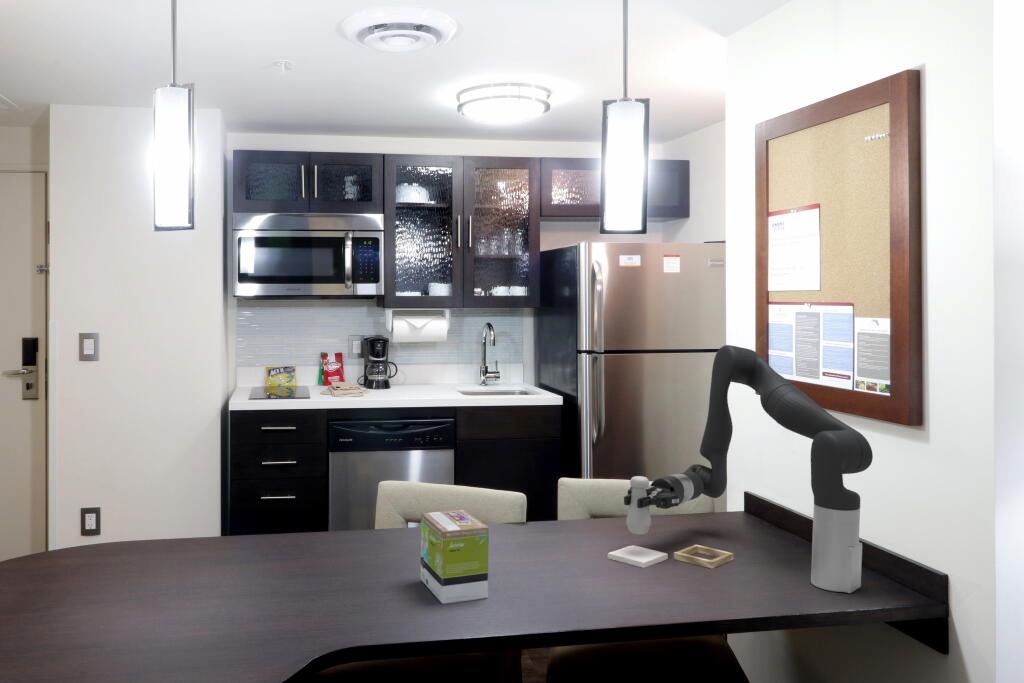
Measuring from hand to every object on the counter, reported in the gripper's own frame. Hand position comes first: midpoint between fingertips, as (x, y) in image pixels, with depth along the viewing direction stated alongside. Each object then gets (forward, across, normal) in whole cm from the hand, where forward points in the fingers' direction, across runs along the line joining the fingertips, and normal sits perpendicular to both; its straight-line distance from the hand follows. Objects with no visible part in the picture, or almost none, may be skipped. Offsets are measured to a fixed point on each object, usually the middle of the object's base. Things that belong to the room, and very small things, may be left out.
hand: (632, 502), depth 188 cm
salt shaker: (-3, 0, +8) cm, 8 cm away
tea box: (+44, -14, +13) cm, 48 cm away
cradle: (-14, +11, +14) cm, 22 cm away
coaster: (-3, 0, +14) cm, 14 cm away
